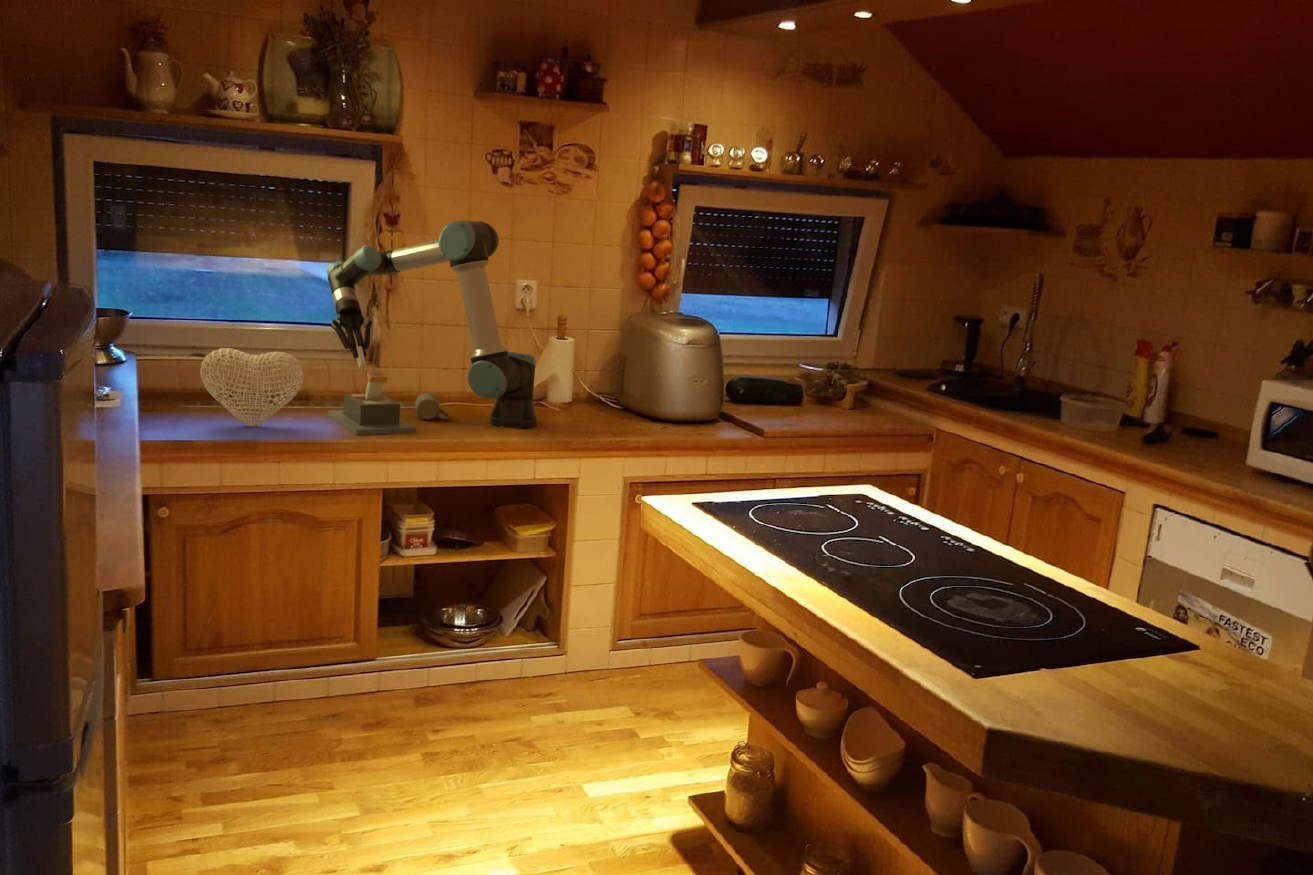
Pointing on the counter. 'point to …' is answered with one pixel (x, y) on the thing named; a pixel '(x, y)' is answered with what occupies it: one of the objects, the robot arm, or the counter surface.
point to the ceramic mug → (429, 407)
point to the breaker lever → (375, 384)
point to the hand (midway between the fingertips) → (362, 366)
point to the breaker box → (371, 416)
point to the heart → (248, 356)
